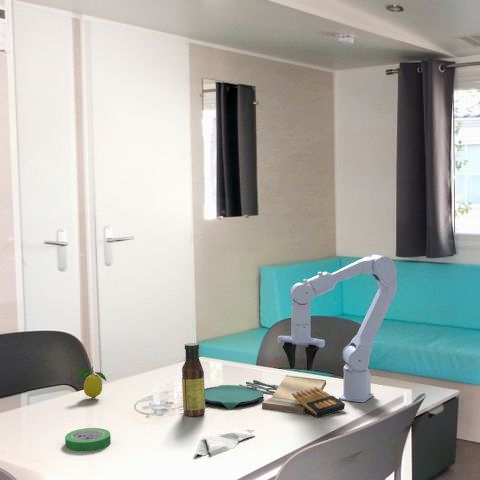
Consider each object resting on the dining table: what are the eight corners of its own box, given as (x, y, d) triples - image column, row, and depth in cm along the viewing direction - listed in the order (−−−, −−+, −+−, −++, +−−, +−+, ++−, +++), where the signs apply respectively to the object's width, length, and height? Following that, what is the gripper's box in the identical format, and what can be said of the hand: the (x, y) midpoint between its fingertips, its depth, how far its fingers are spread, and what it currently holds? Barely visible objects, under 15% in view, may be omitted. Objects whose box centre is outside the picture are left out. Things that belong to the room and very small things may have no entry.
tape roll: (70, 455, 187) (70, 444, 187) (61, 441, 197) (61, 431, 197) (115, 448, 191) (115, 438, 191) (104, 435, 201) (104, 425, 201)
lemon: (77, 400, 233) (77, 367, 233) (88, 395, 239) (88, 363, 238) (96, 402, 231) (96, 369, 230) (107, 397, 236) (106, 365, 236)
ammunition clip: (318, 412, 215) (289, 391, 223) (316, 418, 215) (288, 396, 224) (345, 403, 221) (317, 383, 230) (344, 409, 222) (315, 389, 230)
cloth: (241, 427, 209) (241, 419, 208) (278, 440, 199) (278, 431, 198) (164, 451, 191) (164, 441, 190) (200, 465, 181) (200, 456, 181)
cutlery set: (182, 399, 234) (183, 392, 234) (251, 383, 256) (251, 376, 256) (229, 414, 220) (229, 406, 220) (298, 395, 242) (298, 387, 242)
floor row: (271, 402, 230) (271, 397, 230) (311, 408, 224) (311, 402, 224) (262, 407, 225) (262, 402, 225) (303, 413, 219) (303, 408, 219)
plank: (286, 379, 240) (286, 374, 239) (326, 384, 234) (325, 379, 233) (272, 401, 231) (271, 396, 230) (313, 406, 225) (312, 402, 224)
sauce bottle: (209, 413, 219) (209, 344, 218) (193, 418, 215) (193, 347, 213) (193, 409, 224) (193, 340, 222) (177, 413, 219) (177, 344, 218)
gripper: (273, 323, 231) (273, 368, 232) (318, 327, 225) (318, 374, 226) (283, 320, 238) (283, 364, 239) (327, 323, 231) (327, 369, 232)
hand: (300, 368), depth 233 cm, fingers open, 5 cm apart
